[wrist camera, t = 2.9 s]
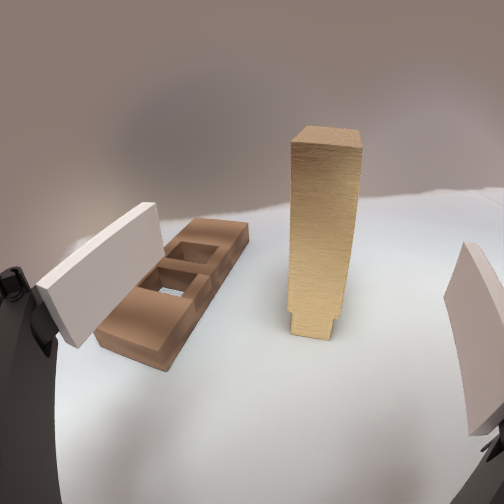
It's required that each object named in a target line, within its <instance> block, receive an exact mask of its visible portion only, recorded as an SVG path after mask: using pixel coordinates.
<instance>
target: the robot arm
mask: <svg viewBox="0 0 504 504" xmlns="http://www.w3.org/2000/svg"><path fill="white" fill-rule="evenodd" d="M164 256H165V251H164V246H163V241H162V235H161V230H160V224H159V219H158V213H157V207H156V203H148V202H142V203H141V204H139V205H138V206H136V207H135V208H133V209H132V210H130V211H129V212H128V213H126V214H125V215H123V216H122V217H120V218H119V219H118V220H116V221H115V222H113V223H112V224H111V225H109V226H108V227H107V228H105V229H104V230H102V231H101V232H100V233H98V234H97V235H96V236H94V237H93V238H92V239H90V240H89V241H88V242H87V243H85V244H84V245H83V246H81V247H80V248H79V249H77V250H76V251H75V252H74V253H72V254H71V255H70V256H69V257H67V258H66V259H65V260H64V261H62V262H61V263H60V264H59V265H58V266H56V267H55V268H54V269H53V270H51V271H50V272H49V273H48V274H47V275H46V276H44V277H43V278H42V279H41V280H40V281H39V282H37V283H36V285H35V286H34V287H33V288H31V289H30V287H29V285H28V282H27V280H26V278H25V276H24V274H23V271H22V269H21V268H20V267H11V268H9V269H6V270H5V271H4V272H2V273H1V274H0V504H62V501H61V495H60V488H59V480H58V472H57V461H56V447H55V419H54V405H55V376H56V361H57V350H58V340H57V338H56V336H55V335H56V334H57V333H58V332H60V333H61V335H62V337H63V339H64V340H65V342H66V343H68V344H69V345H71V346H73V347H75V348H77V349H79V348H80V347H81V345H82V344H83V343H84V342H85V341H86V340H87V338H88V337H89V336H90V335H91V334H92V333H93V332H94V331H95V329H96V328H97V327H98V326H99V325H100V324H101V323H102V322H103V320H104V319H105V318H106V317H107V316H108V315H109V314H110V313H111V312H112V310H113V309H114V308H115V307H116V306H117V305H118V304H119V303H120V302H121V301H122V300H123V299H124V297H125V296H126V295H127V294H128V293H129V292H130V291H131V290H132V289H133V288H134V287H135V286H136V285H137V284H138V283H139V281H140V280H141V279H142V278H143V277H144V276H145V275H146V274H147V273H148V272H149V271H150V270H151V269H152V268H153V267H154V266H155V265H156V264H157V263H158V262H159V261H160V260H161V259H162V258H163V257H164ZM444 300H445V304H446V308H447V311H448V315H449V319H450V323H451V327H452V331H453V335H454V340H455V344H456V349H457V354H458V359H459V364H460V369H461V375H462V381H463V388H464V394H465V402H466V411H467V420H468V432H469V436H478V435H488V434H489V433H490V432H491V431H492V430H493V429H494V428H496V427H497V426H498V425H499V432H500V434H498V435H497V436H496V437H495V438H494V439H493V440H491V441H490V442H489V443H488V444H487V445H485V446H484V447H483V448H482V449H481V450H480V451H481V452H483V451H485V450H486V449H487V448H488V450H487V452H486V453H485V455H484V457H483V458H482V460H481V461H480V463H479V464H478V466H477V467H476V469H475V470H474V472H473V473H472V475H471V476H470V478H469V479H468V481H467V482H466V483H465V485H464V486H463V487H462V489H461V490H460V491H459V493H458V494H457V495H456V497H455V498H454V499H453V501H452V502H451V503H450V504H504V288H503V286H502V284H501V282H500V281H499V279H498V277H497V275H496V273H495V271H494V269H493V268H492V266H491V264H490V262H489V261H488V259H487V257H486V256H485V254H484V252H483V251H482V249H481V247H480V246H479V244H474V243H468V242H463V245H462V248H461V251H460V254H459V257H458V260H457V263H456V266H455V269H454V272H453V274H452V277H451V280H450V282H449V285H448V287H447V290H446V292H445V295H444Z"/></svg>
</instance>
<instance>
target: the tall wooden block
mask: <svg viewBox="0 0 504 504" xmlns="http://www.w3.org/2000/svg"><path fill="white" fill-rule="evenodd" d="M361 162H362V143H361V138H360V134H359V130H352V129H343V128H332V127H319V126H307V127H306V128H305V129H304V130H303V131H301V132H300V133H299V134H298V135H297V136H296V137H295V138H294V139H293V140H292V141H291V198H290V246H289V277H288V301H287V311H289V312H292V323H291V334H293V335H298V336H304V337H311V338H317V339H323V340H330V335H331V330H332V325H333V320H334V319H339V317H340V312H341V307H342V302H343V297H344V291H345V286H346V280H347V274H348V268H349V262H350V256H351V249H352V242H353V235H354V228H355V220H356V212H357V204H358V194H359V184H360V174H361Z"/></svg>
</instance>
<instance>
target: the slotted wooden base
mask: <svg viewBox="0 0 504 504" xmlns="http://www.w3.org/2000/svg"><path fill="white" fill-rule="evenodd" d="M248 242H249V232H248V223H245V222H236V221H226V220H216V219H205V218H194V219H193V220H192V221H191V222H190V223H189V224H188V225H187V226H186V227H185V228H184V229H183V230H182V231H181V232H179V233H178V234H177V235H176V236H175V237H174V238H173V239H172V240H171V241H170V242H169V243H168V244H167V245H166V246H165V247H164V251H165V256H164V257H163V258H162V259H161V260H160V261H159V262H158V263H157V264H156V265H155V266H154V267H153V268H152V269H151V270H150V271H149V272H148V273H147V274H146V275H145V276H144V277H143V278H142V279H141V280H140V281H139V283H138V284H137V285H136V286H135V287H134V288H133V289H132V290H131V291H130V292H129V293H128V294H127V295H126V296H125V297H124V299H123V300H122V301H121V302H120V303H119V304H118V305H117V306H116V307H115V308H114V309H113V310H112V312H111V313H110V314H109V315H108V316H107V317H106V318H105V319H104V320H103V322H102V323H101V324H100V325H99V326H98V327H97V328H96V329H95V331H94V332H93V333H94V335H95V337H96V339H97V341H98V343H99V344H100V346H102V347H104V348H106V349H108V350H111V351H113V352H116V353H118V354H120V355H123V356H125V357H128V358H130V359H133V360H136V361H138V362H141V363H143V364H146V365H149V366H151V367H154V368H157V369H160V370H163V371H166V372H167V371H168V369H169V367H170V366H171V364H172V363H173V361H174V359H175V358H176V356H177V355H178V353H179V351H180V350H181V348H182V347H183V345H184V343H185V342H186V340H187V339H188V337H189V335H190V334H191V332H192V331H193V329H194V327H195V326H196V324H197V323H198V321H199V319H200V318H201V316H202V315H203V313H204V311H205V310H206V308H207V307H208V305H209V304H210V302H211V300H212V299H213V297H214V296H215V294H216V292H217V291H218V289H219V288H220V286H221V285H222V283H223V281H224V280H225V278H226V277H227V275H228V273H229V272H230V270H231V269H232V267H233V266H234V264H235V262H236V261H237V259H238V258H239V256H240V255H241V253H242V251H243V250H244V248H245V247H246V245H247V244H248ZM184 260H186V261H184ZM189 261H192V262H189ZM195 262H198V263H195ZM201 263H204V264H201ZM161 287H166V288H171V289H176V290H180V291H185V292H184V293H183V295H182V296H181V297H178V296H174V295H169V294H165V293H161V292H158V291H159V290H160V288H161Z"/></svg>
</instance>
